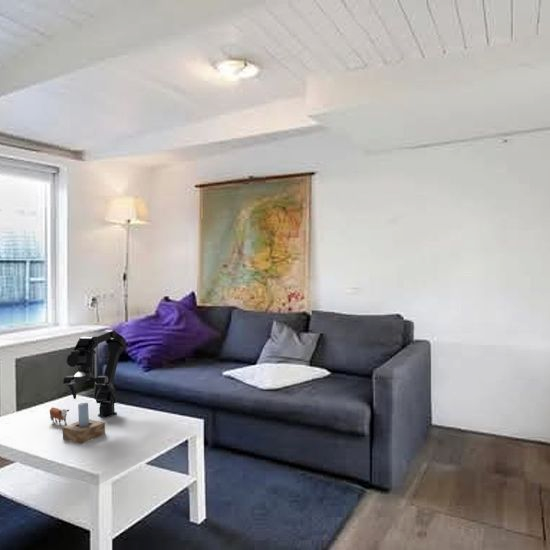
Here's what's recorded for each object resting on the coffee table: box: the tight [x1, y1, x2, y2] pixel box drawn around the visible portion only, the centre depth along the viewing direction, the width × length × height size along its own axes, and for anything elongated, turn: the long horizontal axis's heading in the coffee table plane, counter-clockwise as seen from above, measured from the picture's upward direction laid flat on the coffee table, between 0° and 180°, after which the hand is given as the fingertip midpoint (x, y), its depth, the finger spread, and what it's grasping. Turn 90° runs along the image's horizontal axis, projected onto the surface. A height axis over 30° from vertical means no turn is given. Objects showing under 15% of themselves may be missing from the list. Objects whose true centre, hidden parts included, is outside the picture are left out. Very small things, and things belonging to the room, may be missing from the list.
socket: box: [62, 418, 106, 445], centre depth 198 cm, size 12×12×5 cm
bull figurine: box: [49, 406, 70, 427], centre depth 214 cm, size 4×13×8 cm, turn 53°
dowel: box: [77, 402, 90, 428], centre depth 198 cm, size 4×4×14 cm
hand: (85, 398), depth 209 cm, fingers open, 9 cm apart
